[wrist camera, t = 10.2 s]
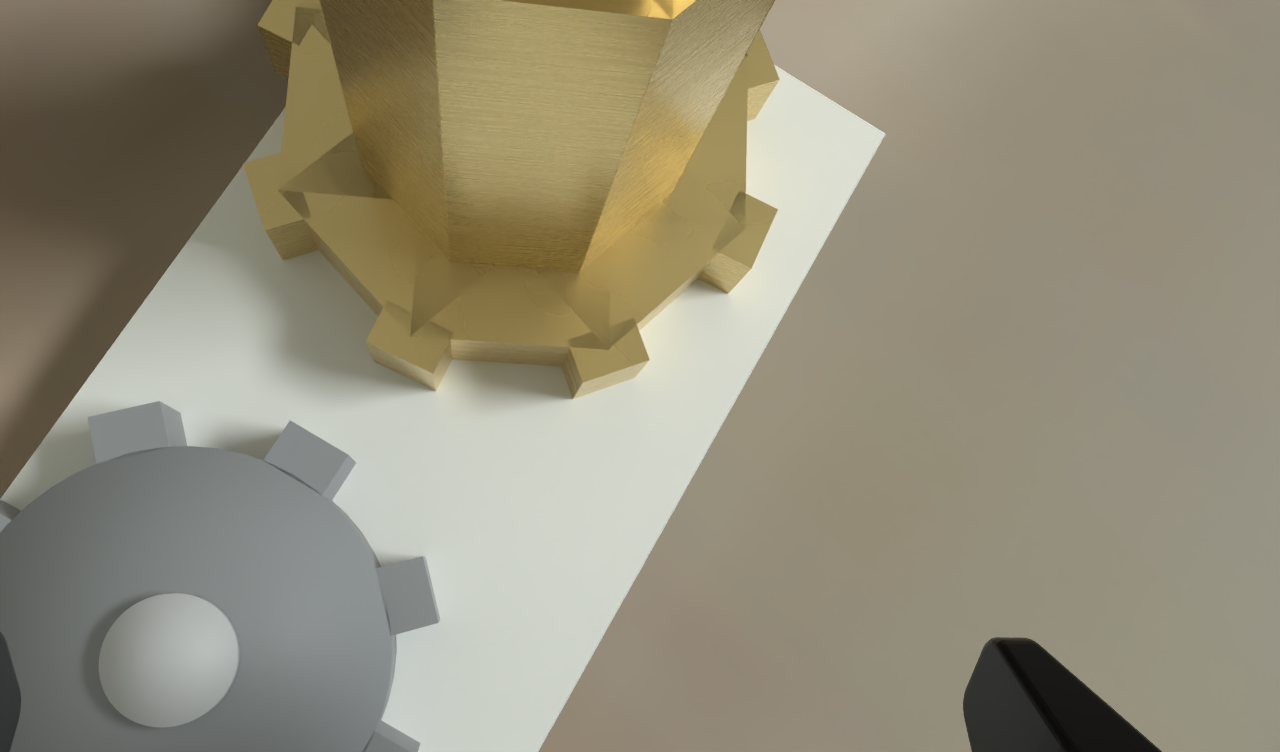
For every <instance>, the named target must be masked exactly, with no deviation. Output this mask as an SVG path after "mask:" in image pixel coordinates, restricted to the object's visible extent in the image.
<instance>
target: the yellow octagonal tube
mask: <svg viewBox="0 0 1280 752" xmlns="http://www.w3.org/2000/svg"><path fill="white" fill-rule="evenodd" d="M774 1H775V0H272V2H271V3H270V5H269V7H268V8H267V10H266V12H265V13H264V15H263V17H262V18H261V20H260V22H259V23H258V25H257V26H258V28H259V31H260V33H261V36H262V39H263V41H264V44H265V46H266V49H267V52H268V54H269V57H270V59H271V62H272V65H273V67H274V70H275V72H277V73H279V74H281V75H283V76H285V77H287V78H288V88H287V98H286V108H285V118H284V128H283V138H282V148H281V153H277V154H274V155H270V156H266V157H263V158H259V159H256V160H252V161H249V162H245V163H243V166H244V169H245V172H246V175H247V178H248V181H249V184H250V187H251V190H252V193H253V196H254V199H255V202H256V205H257V208H258V211H259V214H260V217H261V220H262V223H263V226H264V229H265V231H266V233H267V235H268V236H269V238H270V240H271V241H272V243H273V245H274V246H275V248H276V250H277V252H278V253H279V255H280V257H281V258H282V260H286V259H289V258H293V257H296V256H299V255H303V254H306V253H309V252H313V251H316V250H319V252H320V253H321V254H322V255H323V256H324V257H325V258H326V259H327V260H328V261H329V263H330V264H331V265H332V266H333V267H334V268H335V269H336V270H337V271H338V273H339V274H340V275H341V276H342V277H343V278H344V279H345V280H346V281H347V282H348V284H349V285H350V286H351V287H352V288H353V289H354V290H355V291H356V292H357V294H358V295H359V296H360V297H361V298H362V299H363V300H364V301H365V302H366V303H367V305H368V306H369V307H370V308H371V309H372V310H373V311H374V312H375V313H376V315H377V316H378V318H377V320H376V322H375V324H374V326H373V328H372V330H371V332H370V334H369V335H368V337H367V339H366V341H365V342H366V344H367V346H368V349H369V351H370V353H371V355H372V358H373V360H374V362H376V363H378V364H380V365H382V366H384V367H386V368H388V369H391V370H393V371H395V372H397V373H399V374H401V375H403V376H405V377H407V378H410V379H412V380H414V381H416V382H418V383H420V384H422V385H424V386H426V387H428V388H431V389H433V390H435V391H436V390H437V388H438V386H439V384H440V382H441V380H442V378H443V377H444V375H445V373H446V371H447V369H448V367H449V365H450V363H451V361H452V360H465V361H481V362H496V363H512V364H528V365H544V366H560V367H561V368H562V370H563V373H564V376H565V379H566V381H567V384H568V387H569V390H570V392H571V395H572V398H573V399H575V398H578V397H581V396H584V395H587V394H590V393H592V392H595V391H598V390H601V389H604V388H607V387H610V386H613V385H616V384H619V383H621V382H624V381H627V380H630V379H633V378H635V377H636V376H637V374H638V373H639V372H640V371H641V370H642V369H643V367H644V366H645V365H646V364H647V363H648V361H649V360H650V359H649V356H648V354H647V351H646V348H645V346H644V343H643V340H642V338H641V335H640V332H639V331H640V330H641V329H642V328H643V327H644V326H645V325H647V324H648V323H649V322H650V321H651V320H652V319H653V318H654V317H656V316H657V315H658V314H659V313H660V312H661V311H662V310H664V309H665V308H666V307H667V306H668V305H669V304H670V303H671V302H673V301H674V300H675V299H676V298H677V297H678V296H679V295H680V294H682V293H683V292H684V291H685V290H686V289H687V288H688V287H689V286H691V285H692V284H693V283H694V282H695V281H696V280H697V279H699V280H701V281H703V282H705V283H708V284H710V285H712V286H714V287H716V288H718V289H720V290H722V291H724V292H726V293H729V292H730V291H731V290H732V289H733V288H734V287H735V286H736V285H737V284H738V283H739V282H740V280H741V279H742V278H743V277H744V276H745V275H746V274H747V273H748V272H749V271H750V270H751V269H752V266H753V264H754V262H755V260H756V258H757V255H758V253H759V251H760V249H761V246H762V244H763V242H764V240H765V238H766V235H767V233H768V231H769V229H770V226H771V224H772V222H773V220H774V218H775V215H776V213H777V211H778V209H776V208H774V207H772V206H770V205H768V204H766V203H764V202H762V201H760V200H758V199H756V198H754V197H752V196H750V195H748V194H746V156H747V121H750V120H753V119H755V118H756V116H757V115H758V113H759V112H760V110H761V109H762V107H763V105H764V104H765V102H766V101H767V99H768V97H769V96H770V94H771V93H772V91H773V89H774V88H775V86H776V85H777V83H778V81H779V80H780V79H779V76H778V74H777V71H776V69H775V66H774V64H773V61H772V59H771V56H770V54H769V51H768V49H767V46H766V44H765V41H764V39H763V36H762V34H761V31H760V27H761V25H762V24H763V22H764V20H765V18H766V16H767V14H768V12H769V10H770V9H771V7H772V5H773V3H774Z"/></svg>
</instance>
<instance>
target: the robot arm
mask: <svg viewBox="0 0 1280 752" xmlns="http://www.w3.org/2000/svg"><path fill="white" fill-rule="evenodd" d="M21 701H22V699H21V690H20V686H19V682H18V679H17V675H16V672H15V668H14V665H13V661H12V658H11V655H10V651H9V648H8V644H7V641H6V639H5V636H4V635H3V634H2V633H1V632H0V752H10V750H11V746H12V743H13V739H14V736H15V732H16V729H17V725H18V722H19V717H20V712H21ZM963 711H964V718H965V723H966V727H967V732H968V736H969V741H970V745H971V750H972V752H1162V751H1161V750H1160V749H1158V748H1157V747H1156V746H1155V745H1154V744H1153V743H1152V742H1150V741H1149V740H1148V739H1147V738H1146V737H1145V736H1144V735H1142V734H1141V733H1140V732H1139V731H1138V730H1137V729H1135V728H1134V727H1133V726H1132V725H1131V724H1130V723H1129V722H1127V721H1126V720H1125V719H1124V718H1123V717H1122V716H1121V715H1119V714H1118V713H1117V712H1116V711H1115V710H1114V709H1113V708H1111V707H1110V706H1109V705H1108V704H1107V703H1106V702H1104V701H1103V700H1102V699H1101V698H1100V697H1099V696H1098V695H1096V694H1095V693H1094V692H1093V691H1092V690H1091V689H1090V688H1088V687H1087V686H1086V685H1085V684H1084V683H1083V682H1082V681H1080V680H1079V679H1078V678H1077V677H1076V676H1075V675H1073V674H1072V673H1071V672H1070V671H1069V670H1068V669H1067V668H1065V667H1064V666H1063V665H1062V664H1061V663H1060V662H1059V661H1057V660H1056V659H1055V658H1054V657H1053V656H1052V655H1051V654H1049V653H1048V652H1047V651H1046V650H1045V649H1044V648H1042V647H1041V646H1040V645H1039V644H1038V643H1036V642H1035V641H1033V640H1031V639H1028V638H992V639H991V640H989V641H988V642H987V643H986V644H985V646H984V648H983V650H982V652H981V655H980V657H979V659H978V662H977V664H976V666H975V669H974V671H973V674H972V676H971V678H970V681H969V683H968V685H967V688H966V690H965V694H964V700H963Z"/></svg>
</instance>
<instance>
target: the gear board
mask: <svg viewBox="0 0 1280 752" xmlns="http://www.w3.org/2000/svg"><path fill="white" fill-rule="evenodd" d="M774 66H775V65H774ZM775 69H776V71H777V74H778V76H779V79H780V80H779V81H778V83H777V85H776V86H775V88H774V89H773V91H772V93H771V94H770V96H769V97H768V99H767V101H766V102H765V104H764V105H763V107H762V109H761V110H760V112H759V113H758V115H757V116H756V118H755V119H753V120H750V121H747V156H746V194H748V195H750V196H752V197H754V198H756V199H758V200H760V201H762V202H764V203H766V204H768V205H770V206H772V207H774V208H776V209H778V211H777V213H776V215H775V218H774V220H773V222H772V224H771V226H770V229H769V231H768V233H767V235H766V238H765V240H764V242H763V244H762V246H761V249H760V251H759V253H758V255H757V258H756V260H755V262H754V264H753V266H752V269H751V270H750V271H749V272H748V273H747V274H746V275H745V276H744V277H743V278H742V279H741V280H740V282H739V283H738V284H737V285H736V286H735V287H734V288H733V289H732V290H731V291H730V292H729V293H726V292H724V291H722V290H720V289H718V288H716V287H714V286H712V285H710V284H708V283H705V282H703V281H701V280H699V279H697V280H696V281H695V282H694V283H693V284H692V285H691V286H689V287H688V288H687V289H686V290H685V291H684V292H683V293H682V294H680V295H679V296H678V297H677V298H676V299H675V300H674V301H673V302H671V303H670V304H669V305H668V306H667V307H666V308H665V309H664V310H662V311H661V312H660V313H659V314H658V315H657V316H656V317H654V318H653V319H652V320H651V321H650V322H649V323H648V324H647V325H645V326H644V327H643V328H642V329H641V330H640V331H639V332H640V335H641V338H642V340H643V343H644V346H645V348H646V351H647V354H648V356H649V359H650V360H649V361H648V363H647V364H646V365H645V366H644V367H643V369H642V370H641V371H640V372H639V373H638V374H637V376H636V377H635V378H633V379H630V380H627V381H624V382H621V383H619V384H616V385H613V386H610V387H607V388H604V389H601V390H598V391H595V392H592V393H590V394H587V395H584V396H581V397H578V398H575V399H573V398H572V395H571V392H570V390H569V387H568V384H567V381H566V379H565V376H564V373H563V370H562V368H561V367H560V366H544V365H528V364H512V363H496V362H481V361H465V360H452V361H451V363H450V365H449V367H448V369H447V371H446V373H445V375H444V377H443V378H442V380H441V382H440V384H439V386H438V388H437V390H436V391H435V390H433V389H431V388H428V387H426V386H424V385H422V384H420V383H418V382H416V381H414V380H412V379H410V378H407V377H405V376H403V375H401V374H399V373H397V372H395V371H393V370H391V369H388V368H386V367H384V366H382V365H380V364H378V363H376V362H374V360H373V358H372V355H371V353H370V351H369V349H368V346H367V344H366V342H365V341H366V339H367V337H368V335H369V334H370V332H371V330H372V328H373V326H374V324H375V322H376V320H377V318H378V316H377V315H376V313H375V312H374V311H373V310H372V309H371V308H370V307H369V306H368V305H367V303H366V302H365V301H364V300H363V299H362V298H361V297H360V296H359V295H358V294H357V292H356V291H355V290H354V289H353V288H352V287H351V286H350V285H349V284H348V282H347V281H346V280H345V279H344V278H343V277H342V276H341V275H340V274H339V273H338V271H337V270H336V269H335V268H334V267H333V266H332V265H331V264H330V263H329V261H328V260H327V259H326V258H325V257H324V256H323V255H322V254H321V253H320V252H319V250H316V251H313V252H309V253H306V254H303V255H299V256H296V257H293V258H289V259H286V260H282V258H281V257H280V255H279V253H278V252H277V250H276V248H275V246H274V245H273V243H272V241H271V240H270V238H269V236H268V235H267V233H266V231H265V229H264V226H263V223H262V220H261V217H260V214H259V211H258V208H257V205H256V202H255V199H254V196H253V193H252V190H251V187H250V184H249V181H248V178H247V175H246V172H245V169H244V166H242V167H241V169H240V170H239V171H238V173H237V174H236V175H235V177H234V178H233V180H232V181H231V182H230V184H229V185H228V186H227V188H226V189H225V191H224V192H223V193H222V195H221V196H220V197H219V199H218V200H217V202H216V203H215V204H214V206H213V207H212V208H211V210H210V211H209V213H208V214H207V215H206V217H205V218H204V219H203V221H202V222H201V224H200V225H199V226H198V228H197V229H196V230H195V232H194V233H193V235H192V236H191V237H190V239H189V240H188V241H187V243H186V244H185V246H184V247H183V248H182V250H181V251H180V252H179V254H178V255H177V257H176V258H175V259H174V261H173V262H172V263H171V265H170V266H169V268H168V269H167V270H166V272H165V273H164V274H163V276H162V277H161V279H160V280H159V281H158V283H157V284H156V285H155V287H154V288H153V290H152V291H151V292H150V294H149V295H148V296H147V298H146V299H145V301H144V302H143V303H142V305H141V306H140V307H139V309H138V310H137V312H136V313H135V314H134V316H133V317H132V318H131V320H130V321H129V323H128V324H127V325H126V327H125V328H124V329H123V331H122V332H121V334H120V335H119V336H118V338H117V339H116V340H115V342H114V343H113V345H112V346H111V347H110V349H109V350H108V351H107V353H106V354H105V356H104V357H103V358H102V360H101V361H100V362H99V364H98V365H97V367H96V368H95V369H94V371H93V372H92V373H91V375H90V376H89V378H88V379H87V380H86V382H85V383H84V384H83V386H82V387H81V389H80V390H79V391H78V393H77V394H76V395H75V397H74V398H73V400H72V401H71V402H70V404H69V405H68V406H67V408H66V409H65V411H64V412H63V413H62V415H61V416H60V417H59V419H58V420H57V422H56V423H55V424H54V426H53V427H52V428H51V430H50V431H49V433H48V434H47V435H46V437H45V438H44V439H43V441H42V442H41V444H40V445H39V446H38V448H37V449H36V450H35V452H34V453H33V455H32V456H31V457H30V459H29V460H28V462H27V463H26V464H25V466H24V467H23V468H22V470H21V471H20V473H19V474H18V475H17V477H16V478H15V479H14V481H13V482H12V484H11V485H10V486H9V488H8V489H7V490H6V492H5V493H4V495H3V496H2V497H1V499H0V632H1V633H2V634H3V635H4V636H5V639H6V641H7V644H8V648H9V651H10V655H11V658H12V661H13V665H14V668H15V672H16V675H17V679H18V682H19V686H20V690H21V699H22V701H21V712H20V717H19V722H18V725H17V729H16V732H15V736H14V739H13V743H12V746H11V750H10V752H538V751H539V749H540V747H541V746H542V744H543V742H544V740H545V738H546V737H547V735H548V733H549V731H550V730H551V728H552V726H553V724H554V722H555V721H556V719H557V717H558V715H559V714H560V712H561V710H562V708H563V706H564V705H565V703H566V701H567V699H568V698H569V696H570V694H571V692H572V690H573V689H574V687H575V685H576V683H577V682H578V680H579V678H580V676H581V674H582V673H583V671H584V669H585V667H586V666H587V664H588V662H589V660H590V658H591V657H592V655H593V653H594V651H595V650H596V648H597V646H598V644H599V642H600V641H601V639H602V637H603V635H604V633H605V632H606V630H607V628H608V626H609V625H610V623H611V621H612V619H613V617H614V616H615V614H616V612H617V610H618V609H619V607H620V605H621V603H622V601H623V600H624V598H625V596H626V594H627V593H628V591H629V589H630V587H631V585H632V584H633V582H634V580H635V578H636V577H637V575H638V573H639V571H640V569H641V568H642V566H643V564H644V562H645V561H646V559H647V557H648V555H649V553H650V552H651V550H652V548H653V546H654V545H655V543H656V541H657V539H658V537H659V536H660V534H661V532H662V530H663V529H664V527H665V525H666V523H667V521H668V520H669V518H670V516H671V514H672V513H673V511H674V509H675V507H676V505H677V504H678V502H679V500H680V498H681V497H682V495H683V493H684V491H685V489H686V488H687V486H688V484H689V482H690V481H691V479H692V477H693V475H694V473H695V472H696V470H697V468H698V466H699V465H700V463H701V461H702V459H703V457H704V456H705V454H706V452H707V450H708V449H709V447H710V445H711V443H712V441H713V440H714V438H715V436H716V434H717V433H718V431H719V429H720V427H721V425H722V424H723V422H724V420H725V418H726V417H727V415H728V413H729V411H730V409H731V408H732V406H733V404H734V402H735V401H736V399H737V397H738V395H739V393H740V392H741V390H742V388H743V386H744V385H745V383H746V381H747V379H748V377H749V376H750V374H751V372H752V370H753V368H754V367H755V365H756V363H757V361H758V360H759V358H760V356H761V354H762V352H763V351H764V349H765V347H766V345H767V344H768V342H769V340H770V338H771V336H772V335H773V333H774V331H775V329H776V328H777V326H778V324H779V322H780V320H781V319H782V317H783V315H784V313H785V312H786V310H787V308H788V306H789V304H790V303H791V301H792V299H793V297H794V296H795V294H796V292H797V290H798V288H799V287H800V285H801V283H802V281H803V280H804V278H805V276H806V274H807V272H808V271H809V269H810V267H811V265H812V264H813V262H814V260H815V258H816V256H817V255H818V253H819V251H820V249H821V248H822V246H823V244H824V242H825V240H826V239H827V237H828V235H829V233H830V232H831V230H832V228H833V226H834V224H835V223H836V221H837V219H838V217H839V216H840V214H841V212H842V210H843V208H844V207H845V205H846V203H847V201H848V200H849V198H850V196H851V194H852V192H853V191H854V189H855V187H856V185H857V184H858V182H859V180H860V178H861V176H862V175H863V173H864V171H865V169H866V168H867V166H868V164H869V162H870V160H871V159H872V157H873V155H874V153H875V152H876V150H877V148H878V146H879V144H880V143H881V141H882V139H883V137H884V136H885V133H883V132H882V131H880V130H879V129H877V128H875V127H874V126H872V125H871V124H869V123H867V122H866V121H864V120H862V119H861V118H859V117H858V116H856V115H854V114H853V113H851V112H850V111H848V110H846V109H845V108H843V107H841V106H840V105H838V104H837V103H835V102H833V101H832V100H830V99H829V98H827V97H825V96H824V95H822V94H820V93H819V92H817V91H816V90H814V89H812V88H811V87H809V86H808V85H806V84H804V83H803V82H801V81H800V80H798V79H796V78H795V77H793V76H791V75H790V74H788V73H787V72H785V71H783V70H782V69H780V68H779V67H777V66H775ZM285 108H286V107H285ZM285 108H284V109H283V111H282V112H281V113H280V115H279V116H278V118H277V119H276V120H275V122H274V123H273V125H272V126H271V127H270V129H269V130H268V131H267V133H266V134H265V136H264V137H263V138H262V140H261V141H260V142H259V144H258V145H257V147H256V148H255V149H254V151H253V152H252V153H251V155H250V156H249V158H248V159H247V160H246V162H249V161H252V160H256V159H259V158H263V157H266V156H270V155H274V154H277V153H281V148H282V138H283V128H284V118H285Z"/></svg>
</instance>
